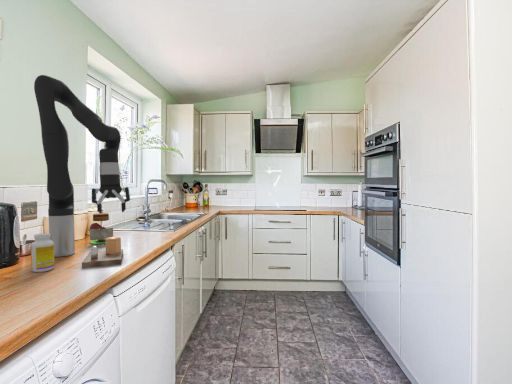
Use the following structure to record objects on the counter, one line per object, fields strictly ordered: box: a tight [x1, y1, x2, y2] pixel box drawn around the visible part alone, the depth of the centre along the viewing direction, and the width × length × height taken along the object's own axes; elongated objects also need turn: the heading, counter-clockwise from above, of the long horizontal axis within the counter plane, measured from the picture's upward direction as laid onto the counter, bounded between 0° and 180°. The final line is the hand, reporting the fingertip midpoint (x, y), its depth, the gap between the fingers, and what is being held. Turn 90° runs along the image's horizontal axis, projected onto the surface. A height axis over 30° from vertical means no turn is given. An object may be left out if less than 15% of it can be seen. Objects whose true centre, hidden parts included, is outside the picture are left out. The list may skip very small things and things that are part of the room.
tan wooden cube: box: [105, 236, 122, 254], centre depth 124 cm, size 6×6×6 cm
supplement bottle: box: [30, 232, 56, 273], centre depth 106 cm, size 7×7×13 cm
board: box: [81, 248, 124, 269], centre depth 118 cm, size 13×18×2 cm
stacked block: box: [87, 212, 114, 245], centre depth 154 cm, size 12×13×15 cm
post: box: [90, 245, 99, 259], centre depth 113 cm, size 2×2×5 cm
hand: (112, 212), depth 124 cm, fingers open, 8 cm apart
